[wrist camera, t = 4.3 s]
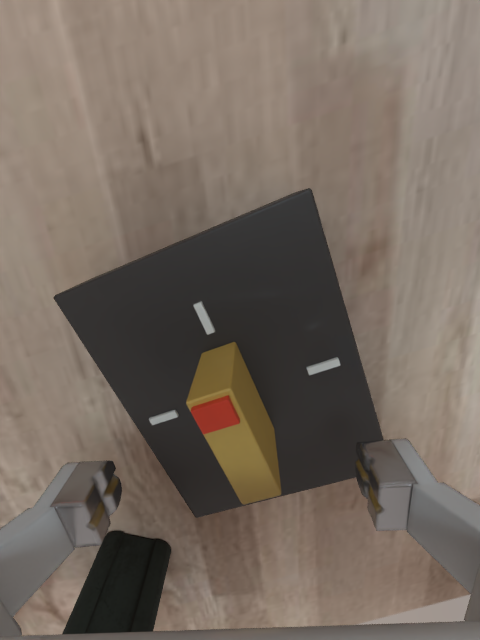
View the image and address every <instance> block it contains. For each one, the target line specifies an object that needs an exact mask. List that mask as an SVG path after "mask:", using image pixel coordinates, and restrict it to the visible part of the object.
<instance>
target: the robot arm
mask: <svg viewBox="0 0 480 640" xmlns="http://www.w3.org/2000/svg"><path fill="white" fill-rule="evenodd" d="M356 453H357V456H358V458H359V459H358V460H357V461H356V462H355V470H356V477H357V481H358V485H359V488H360V491H361V493H362V495H363V496H364V497H366V498H367V499H368V511H369V513H370V516H371V518H372V521H373V523H374V526H375V528H376V531H385V530H407V532H408V533H409V534H410V535H411V536H412V537H413V538H414V539H415V540H416V541H417V542H418V543H419V544H420V545H421V546H422V547H423V548H424V549H425V550H426V551H427V552H428V553H429V554H430V555H431V556H432V557H433V558H434V559H436V560H437V561H438V562H439V563H440V564H441V565H442V566H443V567H444V568H445V569H446V570H447V571H448V572H449V573H450V574H451V575H452V576H453V577H454V578H455V579H456V580H457V581H458V582H459V583H460V584H461V585H462V586H463V587H464V588H465V589H466V590H467V591H468V592H469V593H470V594H471V596H470V600H469V604H468V608H467V611H466V614H465V618H464V620H465V621H460V622H430V623H400V624H372V625H371V624H369V625H337V626H305V627H273V628H241V629H211V630H180V631H150V632H119V633H89V634H58V635H28V636H21V635H22V633H21V628H20V626H19V625H18V624H17V622H16V621H15V619H14V618H13V616H14V615H15V614H16V612H17V611H18V610H19V609H20V608H21V607H22V606H23V605H24V604H25V603H26V602H27V600H28V599H29V598H30V597H31V596H32V595H33V594H34V593H35V592H36V591H37V590H38V588H39V587H40V586H41V585H42V584H43V583H44V582H45V581H46V580H47V579H48V578H49V577H50V575H51V574H52V573H53V572H54V571H55V570H56V569H57V568H58V567H59V566H60V565H61V563H62V562H63V561H64V560H65V559H66V558H67V557H68V556H69V555H70V554H71V553H72V551H73V550H74V547H86V546H98V545H101V544H102V542H103V540H104V537H105V535H106V533H107V531H108V528H109V526H110V524H111V523H110V519H109V516H110V515H111V514H112V513H113V512H114V511H115V510H117V507H118V505H119V502H120V499H121V493H122V487H121V482H120V479H119V478H118V477H117V476H116V475H114V474H113V473H114V471H115V469H116V468H115V465H114V463H113V461H87V462H71V463H67V464H65V465H63V466H62V468H61V469H60V471H59V472H58V473H57V475H56V476H55V478H54V479H53V480H52V482H51V483H50V485H49V486H48V487H47V489H46V490H45V492H44V493H43V494H42V496H41V497H40V499H39V500H38V501H37V503H36V504H35V506H34V507H33V508H28V509H27V510H25V511H24V512H23V513H21V514H20V515H18V516H17V517H16V518H14V519H13V520H12V521H10V522H9V523H8V524H6V525H5V526H3V527H2V528H1V529H0V640H480V505H478V504H477V503H475V502H474V501H472V500H470V499H469V498H467V497H466V496H464V495H463V494H461V493H459V492H458V491H456V490H455V489H453V488H451V487H450V486H448V485H447V484H445V483H438V482H437V480H436V479H435V477H434V476H433V474H432V473H431V472H430V470H429V469H428V467H427V466H426V464H425V463H424V461H423V460H422V459H421V457H420V456H419V454H418V453H417V451H416V450H415V449H414V447H413V446H412V444H411V443H410V441H409V440H407V439H406V438H403V439H391V440H379V441H367V442H357V444H356Z"/></svg>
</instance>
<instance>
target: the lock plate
mask: <svg viewBox="0 0 480 640" xmlns="http://www.w3.org/2000/svg"><path fill="white" fill-rule="evenodd" d="M54 299H55V301H56V302H57V304H58V306H59V307H60V309H61V310H62V312H63V313H64V315H65V316H66V318H67V319H68V321H69V323H70V324H71V326H72V327H73V329H74V330H75V332H76V333H77V335H78V336H79V338H80V340H81V341H82V343H83V344H84V346H85V347H86V349H87V350H88V352H89V353H90V355H91V357H92V358H93V360H94V361H95V363H96V364H97V366H98V367H99V369H100V370H101V372H102V374H103V375H104V377H105V378H106V380H107V381H108V383H109V384H110V386H111V387H112V389H113V391H114V392H115V394H116V395H117V397H118V398H119V400H120V401H121V403H122V404H123V406H124V408H125V409H126V411H127V412H128V414H129V415H130V417H131V418H132V420H133V421H134V423H135V425H136V426H137V428H138V429H139V431H140V432H141V434H142V435H143V437H144V438H145V440H146V442H147V443H148V445H149V446H150V448H151V449H152V451H153V452H154V454H155V455H156V457H157V459H158V460H159V462H160V463H161V465H162V466H163V468H164V469H165V471H166V472H167V474H168V476H169V477H170V479H171V480H172V482H173V483H174V485H175V486H176V488H177V489H178V491H179V493H180V494H181V496H182V497H183V499H184V500H185V502H186V503H187V505H188V506H189V508H190V509H191V511H192V513H193V514H194V516H195V517H201V516H205V515H209V514H213V513H217V512H221V511H225V510H229V509H233V508H237V507H241V506H245V505H248V504H245V505H243V504H242V503H241V502H240V500H239V498H238V496H237V494H236V493H235V491H234V489H233V487H232V485H231V484H230V482H229V480H228V478H227V476H226V475H225V473H224V471H223V469H222V467H221V466H220V464H219V462H218V460H217V458H216V457H215V455H214V453H213V451H212V449H211V448H210V446H209V444H208V442H207V440H206V439H205V437H204V435H203V433H202V431H201V430H200V428H199V426H198V424H197V422H196V421H195V419H194V417H193V415H192V413H191V412H190V410H189V408H188V406H187V404H186V401H187V398H188V395H189V392H190V388H191V385H192V382H193V379H194V376H195V373H196V370H197V367H198V364H199V360H200V357H201V354H202V353H204V352H206V351H209V350H212V349H215V348H218V347H221V346H224V345H226V344H229V343H232V342H235V343H236V344H237V346H238V349H239V351H240V353H241V355H242V358H243V360H244V362H245V364H246V367H247V369H248V371H249V373H250V375H251V378H252V380H253V382H254V384H255V387H256V389H257V391H258V393H259V396H260V398H261V400H262V402H263V405H264V407H265V409H266V411H267V414H268V416H269V418H270V420H271V423H272V425H273V427H274V431H275V440H276V449H277V458H278V467H279V476H280V484H281V495H280V496H284V495H288V494H292V493H296V492H300V491H304V490H308V489H312V488H316V487H320V486H323V485H327V484H331V483H335V482H339V481H343V480H347V479H351V478H355V477H356V470H355V462H356V461H357V460H358V459H359V458H358V456H357V453H356V444H357V442H367V441H379V440H383V436H382V433H381V429H380V426H379V422H378V419H377V415H376V412H375V408H374V405H373V401H372V398H371V394H370V391H369V387H368V384H367V380H366V377H365V374H364V370H363V367H362V363H361V360H360V356H359V353H358V349H357V346H356V342H355V339H354V335H353V332H352V328H351V325H350V321H349V318H348V315H347V311H346V308H345V304H344V301H343V297H342V294H341V290H340V287H339V283H338V280H337V276H336V273H335V269H334V266H333V262H332V259H331V256H330V252H329V249H328V245H327V242H326V238H325V235H324V231H323V228H322V224H321V221H320V217H319V214H318V210H317V207H316V203H315V200H314V197H313V193H312V190H311V189H310V188H308V189H305V190H301V191H298V192H295V193H293V194H290V195H288V196H286V197H283V198H281V199H279V200H276V201H274V202H271V203H269V204H267V205H264V206H262V207H260V208H257V209H255V210H253V211H250V212H248V213H246V214H243V215H241V216H238V217H236V218H234V219H231V220H229V221H227V222H224V223H222V224H220V225H217V226H215V227H212V228H210V229H208V230H205V231H203V232H201V233H198V234H196V235H194V236H191V237H189V238H187V239H184V240H182V241H179V242H177V243H175V244H172V245H170V246H168V247H165V248H163V249H161V250H158V251H156V252H154V253H151V254H149V255H146V256H144V257H142V258H139V259H137V260H135V261H132V262H130V263H128V264H125V265H123V266H120V267H118V268H116V269H113V270H111V271H109V272H106V273H104V274H102V275H99V276H97V277H95V278H92V279H90V280H88V281H85V282H83V283H81V284H79V285H77V286H75V287H72V288H70V289H68V290H66V291H64V292H62V293H59V294H57V295H55V296H54ZM280 496H276V497H280ZM276 497H272V498H276ZM272 498H268V499H272ZM268 499H264V500H268ZM264 500H260V501H264ZM260 501H256V502H260ZM256 502H252V503H256ZM252 503H249V504H252Z"/></svg>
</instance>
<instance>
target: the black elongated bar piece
mask: <svg viewBox="0 0 480 640" xmlns="http://www.w3.org/2000/svg"><path fill="white" fill-rule="evenodd" d="M170 554H171V549H170V546H169V545H168V544H167V543H166V542H164V541H162V540H159V539H156V540H151V539H147V538H142V537H137V536H132V535H128V534H124V532H121V531H113V532H110V533H108V534H107V535H106V536H105V537H104V540H103V542H102V544H101V547H100V549H99V551H98V553H97V556H96V558H95V560H94V563H93V565H92V567H91V569H90V572H89V574H88V576H87V579H86V581H85V583H84V586H83V588H82V590H81V592H80V595H79V597H78V599H77V602H76V604H75V606H74V608H73V611H72V613H71V615H70V618H69V620H68V622H67V624H66V627H65V629H64V631H63V634H89V633H119V632H150V631H153V629H154V625H155V620H156V616H157V611H158V607H159V602H160V598H161V594H162V589H163V585H164V580H165V576H166V572H167V567H168V563H169V558H170Z"/></svg>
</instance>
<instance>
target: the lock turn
mask: <svg viewBox="0 0 480 640" xmlns="http://www.w3.org/2000/svg"><path fill="white" fill-rule="evenodd" d="M186 404H187V406H188V408H189V410H190V412H191V413H192V415H193V417H194V419H195V421H196V422H197V424H198V426H199V428H200V430H201V431H202V433H203V435H204V437H205V439H206V440H207V442H208V444H209V446H210V448H211V449H212V451H213V453H214V455H215V457H216V458H217V460H218V462H219V464H220V466H221V467H222V469H223V471H224V473H225V475H226V476H227V478H228V480H229V482H230V484H231V485H232V487H233V489H234V491H235V493H236V494H237V496H238V498H239V500H240V502H241V503H242V504H243V505H245V504H249V503H252V502H256V501H260V500H264V499H268V498H272V497H276V496H280V495H281V484H280V476H279V467H278V458H277V449H276V440H275V431H274V427H273V425H272V423H271V420H270V418H269V416H268V414H267V411H266V409H265V407H264V405H263V402H262V400H261V398H260V396H259V393H258V391H257V389H256V387H255V384H254V382H253V380H252V378H251V375H250V373H249V371H248V369H247V367H246V364H245V362H244V360H243V358H242V355H241V353H240V351H239V349H238V346H237V344H236V343H235V342H232V343H229V344H226V345H224V346H221V347H218V348H215V349H212V350H209V351H206V352H204V353H202V354H201V357H200V360H199V364H198V367H197V370H196V373H195V376H194V379H193V382H192V385H191V388H190V392H189V395H188V398H187V401H186Z"/></svg>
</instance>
